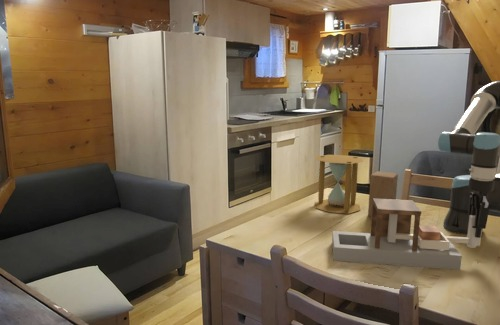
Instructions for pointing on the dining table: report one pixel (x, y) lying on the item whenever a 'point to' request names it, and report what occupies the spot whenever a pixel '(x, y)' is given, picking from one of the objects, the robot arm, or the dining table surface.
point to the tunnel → (404, 211)
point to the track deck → (391, 252)
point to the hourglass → (337, 197)
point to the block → (429, 233)
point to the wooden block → (382, 187)
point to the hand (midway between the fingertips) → (473, 243)
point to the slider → (430, 244)
